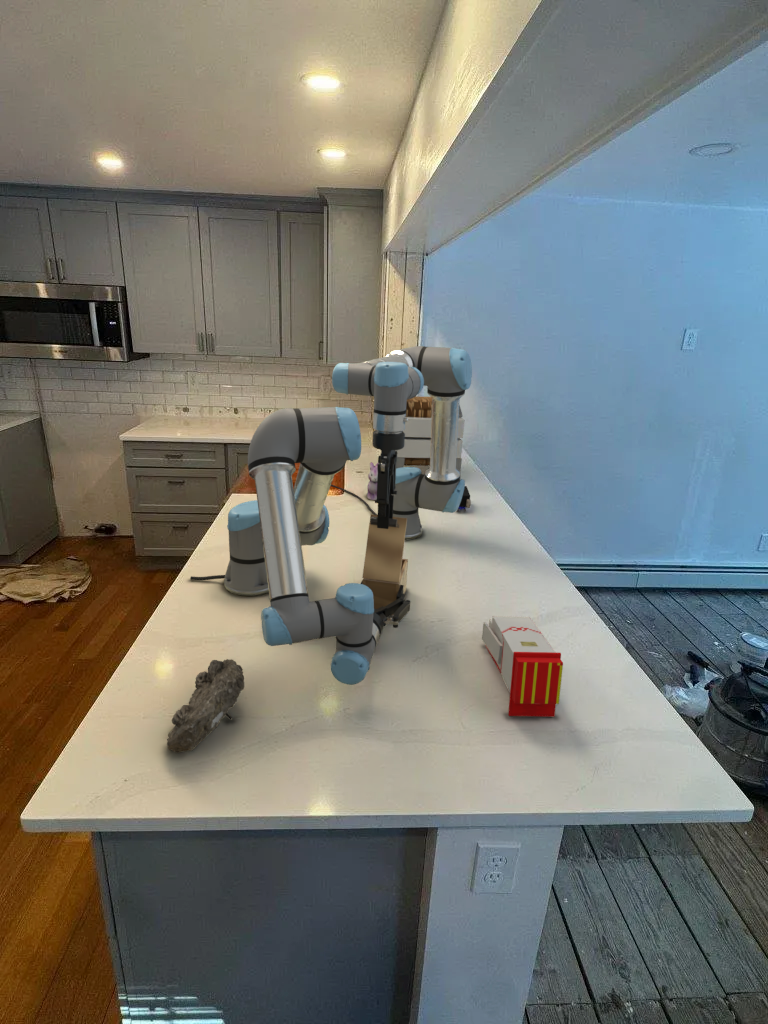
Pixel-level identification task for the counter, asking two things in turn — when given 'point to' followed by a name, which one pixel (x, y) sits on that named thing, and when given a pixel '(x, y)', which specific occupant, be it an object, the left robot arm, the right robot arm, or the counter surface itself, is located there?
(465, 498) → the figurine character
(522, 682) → the toy
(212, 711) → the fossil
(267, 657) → the counter surface
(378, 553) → the lid
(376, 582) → the chest
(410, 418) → the grey boxy piece
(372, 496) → the figurine
